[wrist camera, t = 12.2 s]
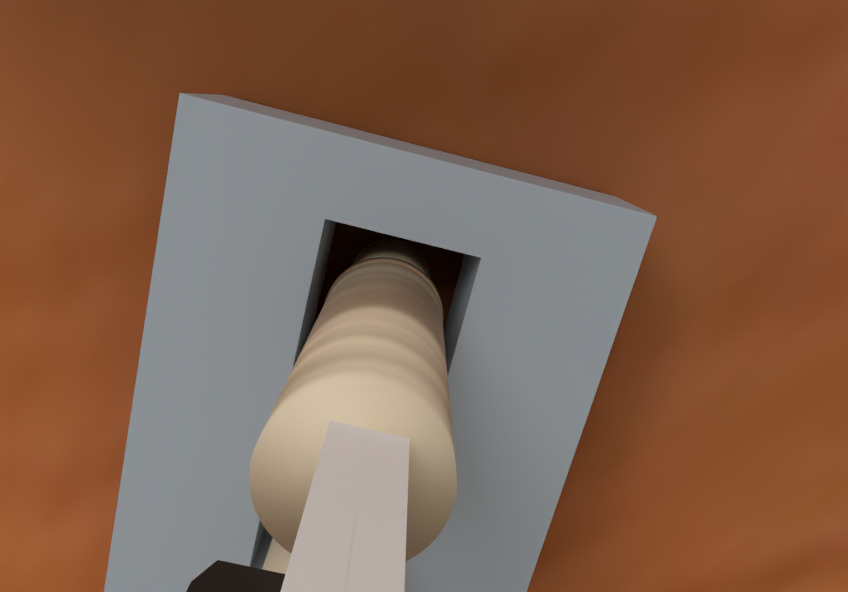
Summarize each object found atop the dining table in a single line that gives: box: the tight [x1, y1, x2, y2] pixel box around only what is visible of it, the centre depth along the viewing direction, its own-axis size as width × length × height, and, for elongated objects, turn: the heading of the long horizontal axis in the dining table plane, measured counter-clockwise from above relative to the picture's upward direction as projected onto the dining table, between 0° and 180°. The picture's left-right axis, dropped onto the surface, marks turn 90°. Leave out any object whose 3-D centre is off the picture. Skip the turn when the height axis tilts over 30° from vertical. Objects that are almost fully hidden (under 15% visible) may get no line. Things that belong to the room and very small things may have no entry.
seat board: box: [104, 93, 657, 592], centre depth 22 cm, size 20×16×16 cm
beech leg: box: [249, 239, 457, 562], centre depth 21 cm, size 4×4×16 cm
